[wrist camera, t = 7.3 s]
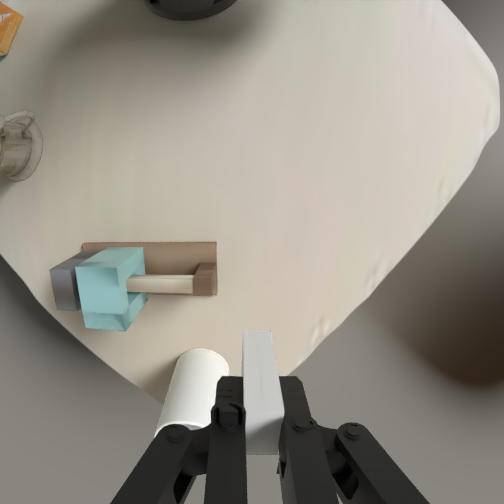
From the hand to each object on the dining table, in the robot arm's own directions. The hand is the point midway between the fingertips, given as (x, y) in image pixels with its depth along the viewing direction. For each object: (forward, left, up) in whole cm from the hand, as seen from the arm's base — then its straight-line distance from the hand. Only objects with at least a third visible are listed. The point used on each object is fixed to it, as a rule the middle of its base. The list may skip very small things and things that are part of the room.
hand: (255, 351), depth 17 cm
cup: (+19, -7, -25) cm, 32 cm away
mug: (-16, -33, -25) cm, 45 cm away
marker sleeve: (+3, -16, -22) cm, 27 cm away
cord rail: (+3, -14, -25) cm, 29 cm away
